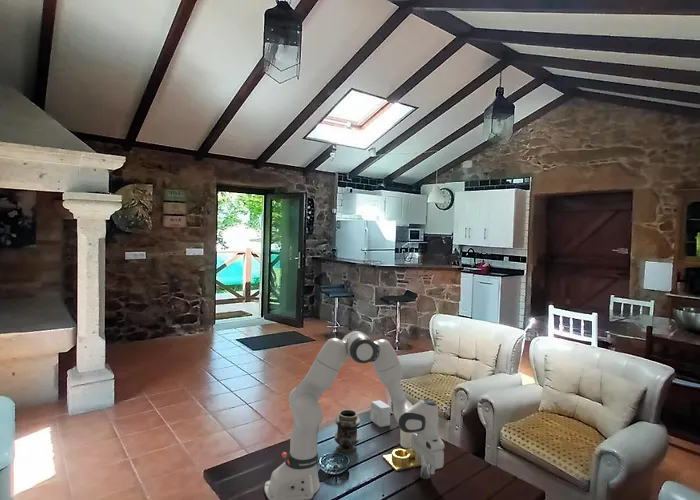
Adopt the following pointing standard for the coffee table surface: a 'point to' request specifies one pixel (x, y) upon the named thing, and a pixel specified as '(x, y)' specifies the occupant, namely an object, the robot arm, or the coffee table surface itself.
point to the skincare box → (380, 413)
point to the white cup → (405, 439)
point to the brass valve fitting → (402, 459)
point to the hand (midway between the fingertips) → (425, 467)
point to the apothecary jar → (347, 431)
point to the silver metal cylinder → (424, 468)
